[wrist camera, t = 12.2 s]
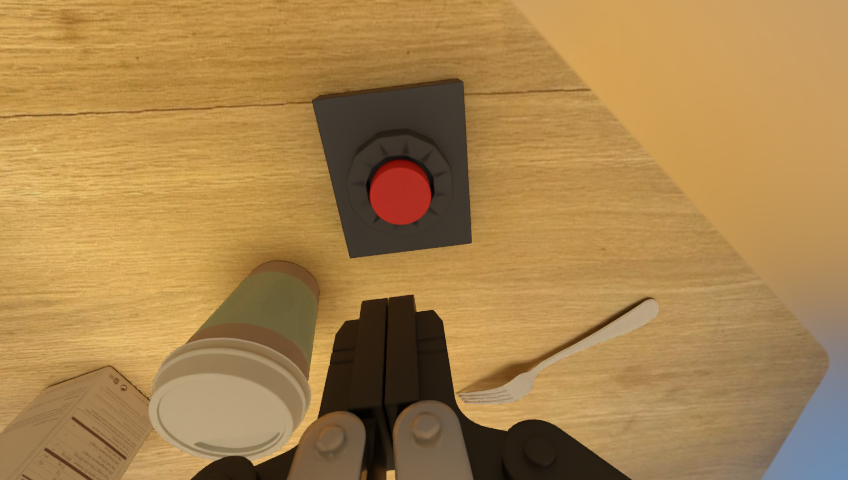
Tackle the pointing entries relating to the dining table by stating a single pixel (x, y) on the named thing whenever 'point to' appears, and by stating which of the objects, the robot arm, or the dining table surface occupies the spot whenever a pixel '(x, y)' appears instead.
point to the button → (400, 192)
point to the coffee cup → (242, 370)
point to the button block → (398, 139)
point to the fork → (525, 380)
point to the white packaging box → (77, 431)
